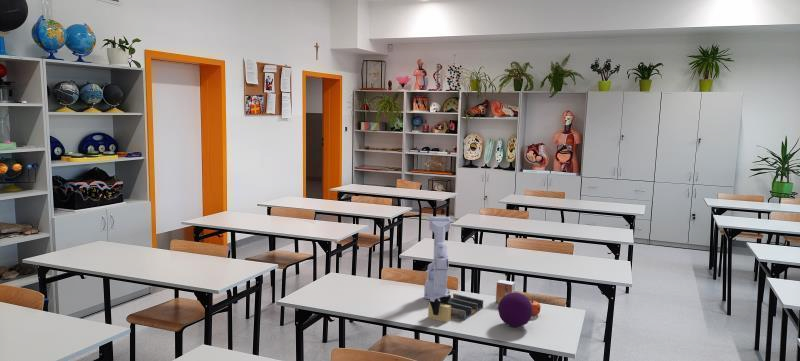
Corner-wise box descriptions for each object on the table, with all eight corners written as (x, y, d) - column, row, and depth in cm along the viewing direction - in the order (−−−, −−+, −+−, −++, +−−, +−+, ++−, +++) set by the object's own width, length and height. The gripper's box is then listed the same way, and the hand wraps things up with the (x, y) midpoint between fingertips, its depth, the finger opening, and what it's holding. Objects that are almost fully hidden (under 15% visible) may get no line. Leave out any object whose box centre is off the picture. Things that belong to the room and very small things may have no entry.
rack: (434, 312, 269) (434, 304, 269) (453, 301, 285) (453, 293, 284) (464, 320, 260) (464, 311, 260) (482, 308, 276) (483, 300, 276)
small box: (495, 302, 285) (496, 282, 283) (498, 299, 290) (499, 279, 288) (511, 305, 281) (512, 284, 280) (514, 302, 286) (515, 281, 285)
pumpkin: (522, 316, 267) (523, 301, 266) (524, 310, 274) (524, 295, 273) (539, 318, 264) (540, 303, 263) (540, 312, 272) (541, 297, 271)
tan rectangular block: (428, 317, 263) (428, 302, 262) (431, 315, 266) (432, 301, 265) (447, 322, 258) (447, 307, 257) (450, 320, 260) (451, 305, 259)
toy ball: (532, 321, 260) (534, 289, 258) (531, 334, 246) (533, 300, 244) (498, 318, 264) (500, 286, 262) (496, 330, 250) (497, 297, 248)
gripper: (440, 289, 251) (439, 319, 253) (455, 281, 263) (454, 309, 265) (426, 286, 255) (425, 315, 257) (442, 278, 267) (441, 306, 269)
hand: (439, 312), depth 261 cm, fingers open, 6 cm apart
